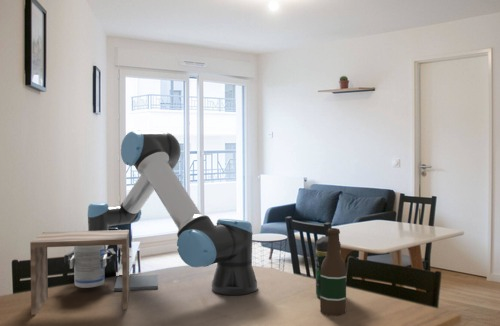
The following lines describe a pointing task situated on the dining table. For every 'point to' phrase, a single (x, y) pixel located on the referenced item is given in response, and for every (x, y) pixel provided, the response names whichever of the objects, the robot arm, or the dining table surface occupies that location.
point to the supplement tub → (89, 266)
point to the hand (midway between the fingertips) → (87, 263)
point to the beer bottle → (333, 278)
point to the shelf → (72, 239)
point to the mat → (138, 282)
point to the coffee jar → (321, 259)
